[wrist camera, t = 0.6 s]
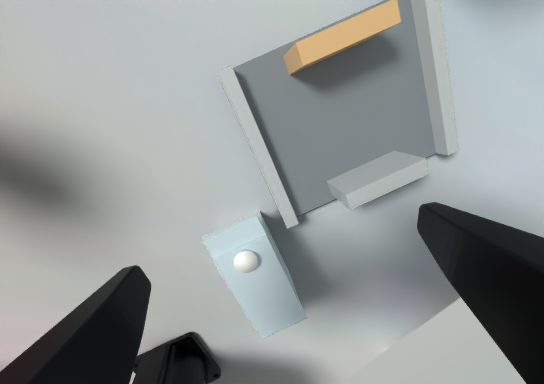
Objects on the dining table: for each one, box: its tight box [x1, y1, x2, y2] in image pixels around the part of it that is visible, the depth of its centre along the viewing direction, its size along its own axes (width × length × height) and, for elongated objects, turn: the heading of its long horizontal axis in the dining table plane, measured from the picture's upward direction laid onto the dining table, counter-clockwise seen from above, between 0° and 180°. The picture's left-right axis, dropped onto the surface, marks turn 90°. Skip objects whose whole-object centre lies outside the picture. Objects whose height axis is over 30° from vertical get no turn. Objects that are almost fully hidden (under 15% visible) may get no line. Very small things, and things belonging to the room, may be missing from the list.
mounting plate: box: [217, 0, 459, 229], centre depth 17 cm, size 12×15×4 cm
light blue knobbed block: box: [202, 211, 307, 339], centre depth 19 cm, size 10×4×5 cm, turn 23°
